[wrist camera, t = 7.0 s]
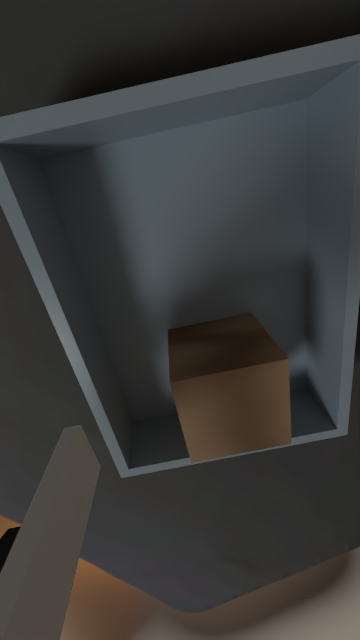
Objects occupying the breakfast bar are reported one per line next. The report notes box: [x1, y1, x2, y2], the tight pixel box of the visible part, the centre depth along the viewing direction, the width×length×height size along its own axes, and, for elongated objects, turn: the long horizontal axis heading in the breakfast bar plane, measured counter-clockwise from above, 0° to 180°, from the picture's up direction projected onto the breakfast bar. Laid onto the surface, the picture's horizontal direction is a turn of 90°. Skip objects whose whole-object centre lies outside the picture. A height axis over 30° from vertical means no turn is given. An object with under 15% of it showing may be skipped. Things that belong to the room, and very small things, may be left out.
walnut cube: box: [168, 313, 292, 463], centre depth 14 cm, size 5×5×5 cm
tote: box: [0, 34, 360, 478], centre depth 14 cm, size 17×13×4 cm
